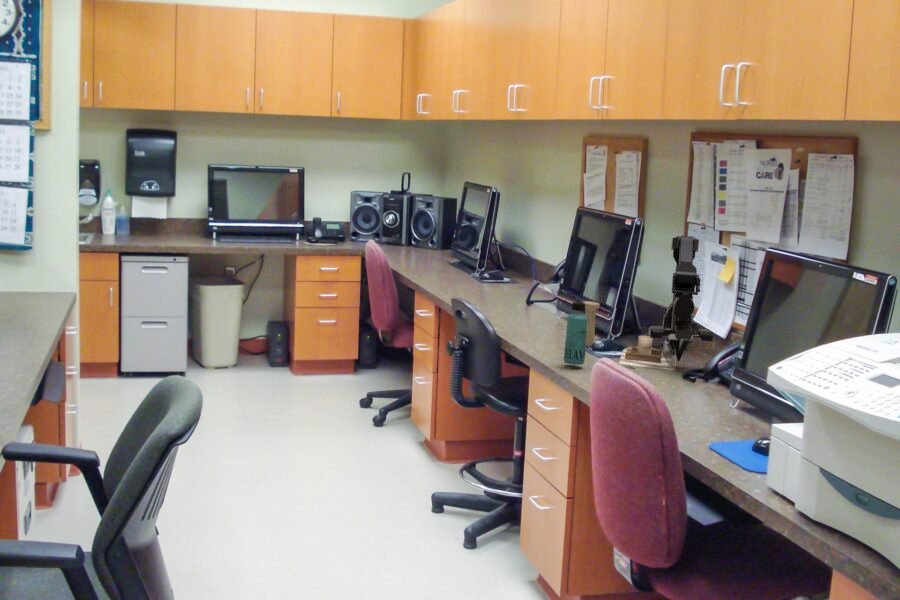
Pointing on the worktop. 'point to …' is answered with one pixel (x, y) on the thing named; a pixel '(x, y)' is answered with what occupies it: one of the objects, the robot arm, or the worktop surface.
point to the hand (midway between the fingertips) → (678, 361)
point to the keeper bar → (669, 353)
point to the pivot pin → (644, 345)
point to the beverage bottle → (576, 336)
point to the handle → (590, 320)
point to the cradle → (645, 359)
